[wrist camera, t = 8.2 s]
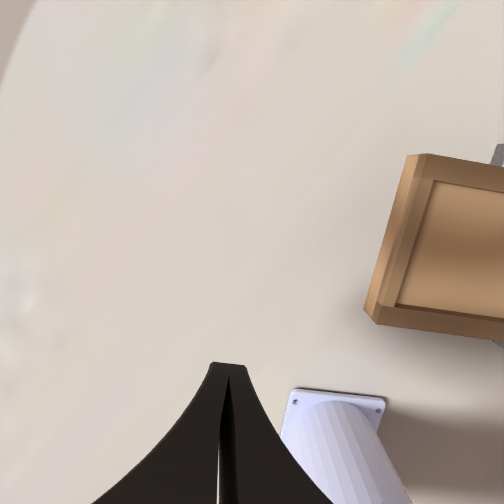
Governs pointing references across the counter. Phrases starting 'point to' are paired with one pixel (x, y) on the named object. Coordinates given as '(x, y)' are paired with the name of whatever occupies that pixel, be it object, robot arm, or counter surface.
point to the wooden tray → (443, 250)
